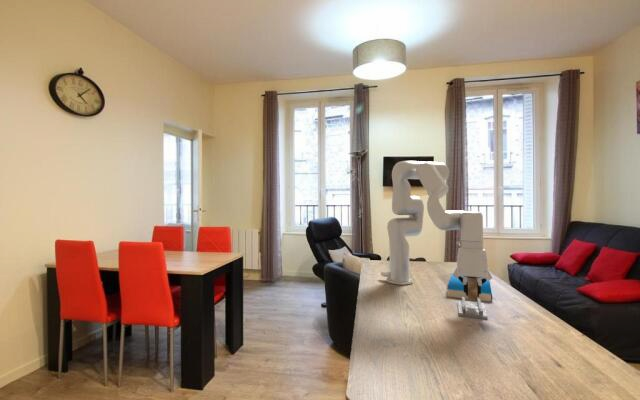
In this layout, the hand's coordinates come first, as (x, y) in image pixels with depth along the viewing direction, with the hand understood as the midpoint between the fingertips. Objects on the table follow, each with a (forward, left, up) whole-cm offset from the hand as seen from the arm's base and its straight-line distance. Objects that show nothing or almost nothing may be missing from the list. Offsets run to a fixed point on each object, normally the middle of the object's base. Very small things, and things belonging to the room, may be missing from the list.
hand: (472, 294), depth 117 cm
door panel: (0, 0, -1) cm, 1 cm away
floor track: (0, 0, -6) cm, 6 cm away
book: (0, +27, -7) cm, 28 cm away
